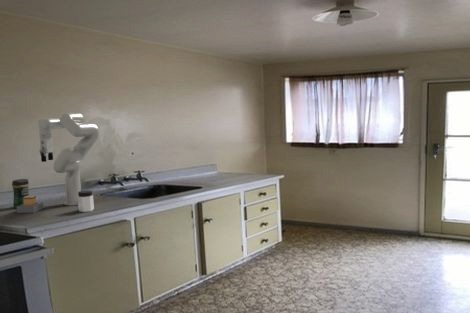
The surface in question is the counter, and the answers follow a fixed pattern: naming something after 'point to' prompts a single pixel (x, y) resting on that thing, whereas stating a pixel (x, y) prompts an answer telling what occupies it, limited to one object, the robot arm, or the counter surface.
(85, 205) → the jar
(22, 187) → the coffee jar
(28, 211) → the holder
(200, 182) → the counter surface
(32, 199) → the block
